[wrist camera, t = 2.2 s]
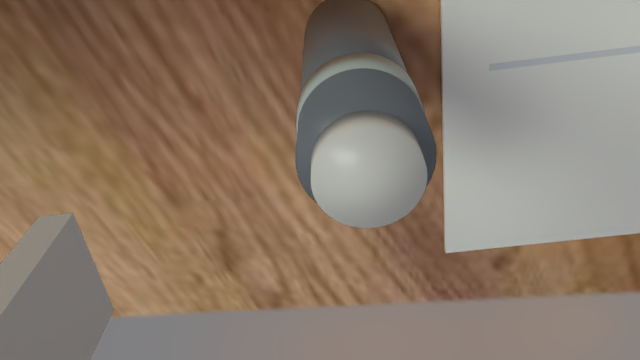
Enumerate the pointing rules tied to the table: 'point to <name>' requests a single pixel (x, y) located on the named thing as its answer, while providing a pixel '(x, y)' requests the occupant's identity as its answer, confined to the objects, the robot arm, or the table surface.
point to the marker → (360, 119)
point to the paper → (539, 121)
